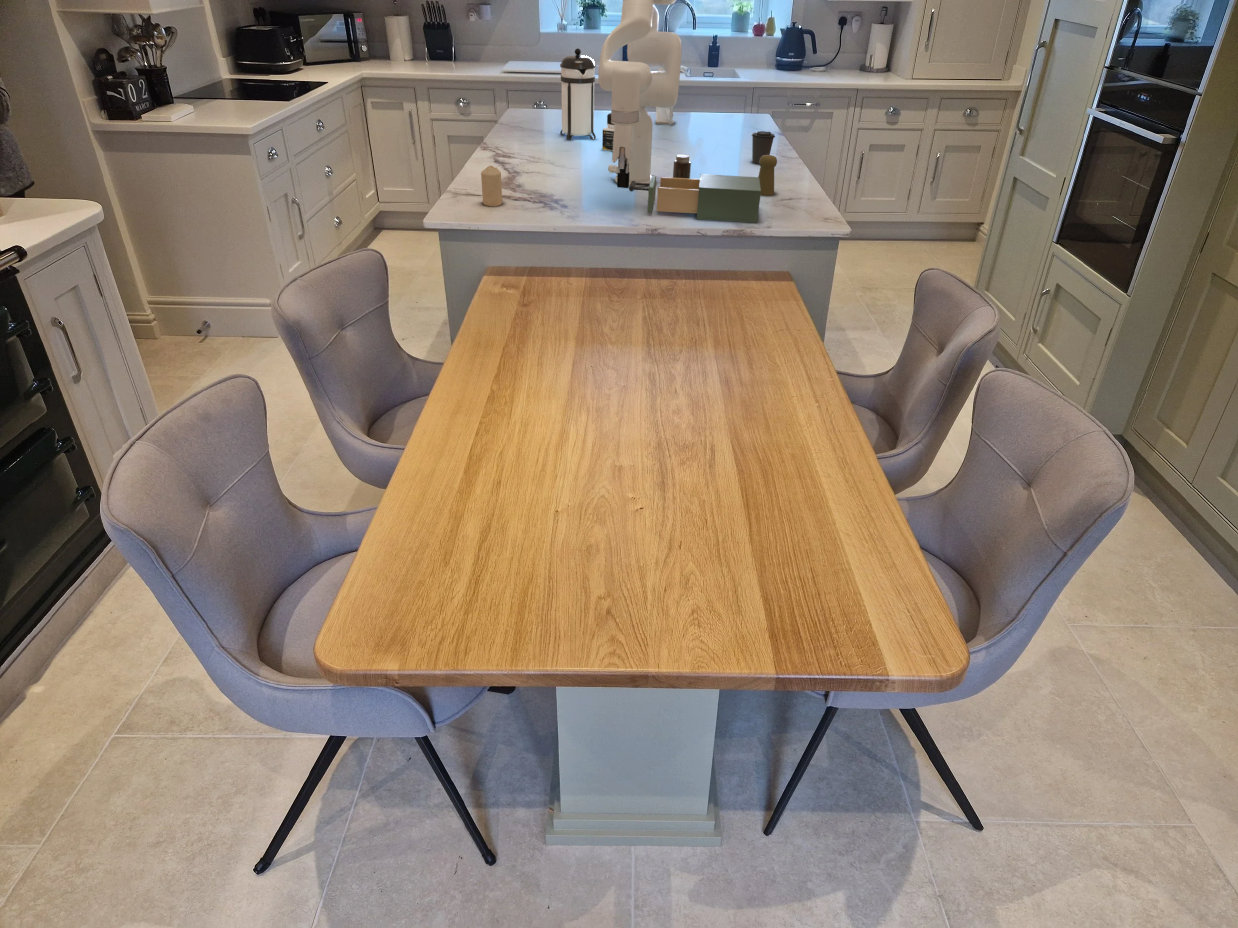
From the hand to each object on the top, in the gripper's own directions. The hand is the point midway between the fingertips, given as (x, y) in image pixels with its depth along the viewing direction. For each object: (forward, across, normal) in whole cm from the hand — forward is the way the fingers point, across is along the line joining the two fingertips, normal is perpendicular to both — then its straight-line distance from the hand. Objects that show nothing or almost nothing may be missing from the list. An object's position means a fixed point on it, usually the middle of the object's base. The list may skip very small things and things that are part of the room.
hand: (623, 187), depth 227 cm
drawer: (+5, 0, +12) cm, 13 cm away
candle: (+6, +4, -37) cm, 37 cm away
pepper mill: (+6, -13, +16) cm, 21 cm away
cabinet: (+6, 0, +30) cm, 30 cm away
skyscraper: (+5, -125, +3) cm, 125 cm away
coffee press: (+5, -90, -28) cm, 94 cm away
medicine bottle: (+5, -72, -11) cm, 73 cm away
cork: (+6, -24, +41) cm, 48 cm away
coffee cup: (+5, -64, +41) cm, 76 cm away
